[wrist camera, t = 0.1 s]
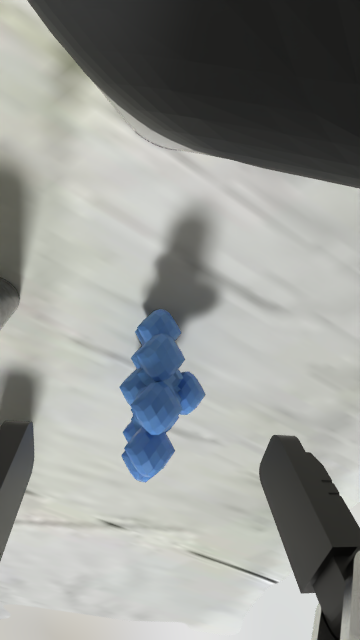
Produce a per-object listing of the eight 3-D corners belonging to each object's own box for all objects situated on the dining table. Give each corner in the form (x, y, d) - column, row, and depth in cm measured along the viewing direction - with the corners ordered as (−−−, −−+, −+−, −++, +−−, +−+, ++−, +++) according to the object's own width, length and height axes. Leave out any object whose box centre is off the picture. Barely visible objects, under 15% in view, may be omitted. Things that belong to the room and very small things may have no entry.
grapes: (182, 397, 33) (200, 515, 22) (117, 392, 32) (103, 514, 21) (209, 297, 27) (249, 392, 17) (131, 286, 26) (122, 380, 16)
